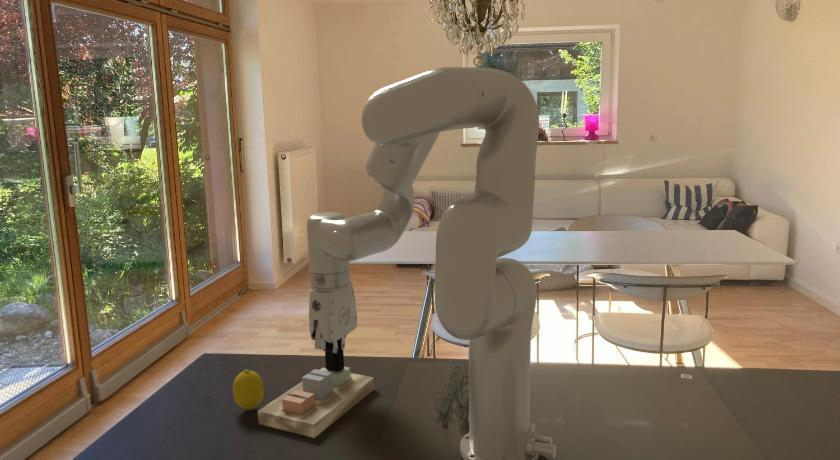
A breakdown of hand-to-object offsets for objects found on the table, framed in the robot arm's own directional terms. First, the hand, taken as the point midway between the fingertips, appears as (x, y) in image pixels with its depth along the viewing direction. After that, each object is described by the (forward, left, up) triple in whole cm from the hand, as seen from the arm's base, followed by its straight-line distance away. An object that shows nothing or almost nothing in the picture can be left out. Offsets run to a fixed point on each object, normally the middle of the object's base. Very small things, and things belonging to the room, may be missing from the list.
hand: (335, 369), depth 124 cm
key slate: (0, +6, -3) cm, 7 cm away
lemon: (+11, +13, -5) cm, 17 cm away
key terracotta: (0, +12, -5) cm, 13 cm away
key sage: (0, 0, -5) cm, 5 cm away
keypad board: (0, +6, -5) cm, 8 cm away
